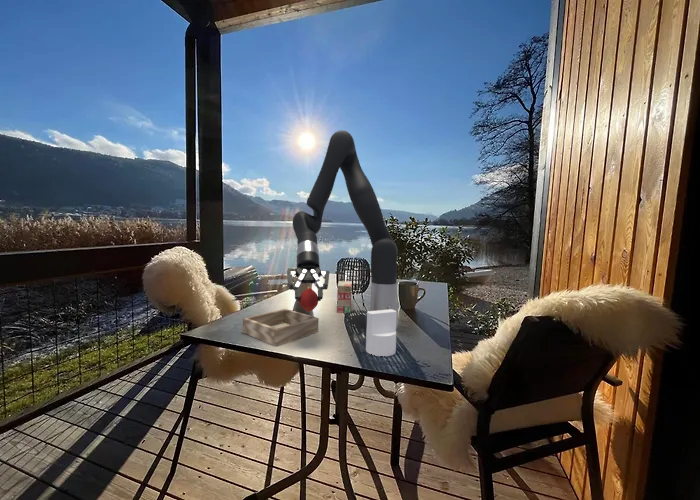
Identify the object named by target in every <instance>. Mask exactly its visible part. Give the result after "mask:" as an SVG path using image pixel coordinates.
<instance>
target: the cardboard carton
mask: <svg viewBox="0 0 700 500" xmlns="http://www.w3.org/2000/svg"><path fill="white" fill-rule="evenodd" d="M352 288H353V287H352V281H351V280H339V281H338V283H337V294H336V299H337V300H336V313H338V314H339V313H341V314H351V313H352Z"/></svg>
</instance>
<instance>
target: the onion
mask: <svg viewBox="0 0 700 500" xmlns="http://www.w3.org/2000/svg"><path fill="white" fill-rule="evenodd" d="M298 302H299V305H300V307H301V308H303V309H304V310H305V312H307V313H310V312H312V311H313V310H314V309H316V307H317V306H318V304H319V301H318V293H316V291H314V290H313V289H312V288H311V287H310V286H306V289H305V290H304V291H302V292H301V293H300V301H298Z"/></svg>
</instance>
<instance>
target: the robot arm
mask: <svg viewBox="0 0 700 500" xmlns="http://www.w3.org/2000/svg"><path fill="white" fill-rule="evenodd" d="M322 162H323V163H322V165H321V168H320V171H319V173H318V175H317V178H316V180H315V182H314V184H313V187H312V189H311V190H310V193H309V194H308V197H307V200H306V205H307V207H309V208H310V209H311V210H312V211H313V212H312V213H313V215H312V214H310V213H308V212H306V211H302V210H301V211H298V212H297V211H296V213H295V214H294V216H293V218H292V229H293V231H294V235H295V237H296V240H297V241H296V243H297V247H296V268H295V270H294V271H291V270H289V269H287V270H286V277H287V278H286V279H287V284H288V290H293V291H294V299H295V300H296V302H299V301H300V296H301V293H300V292H301V287H302V286H303V284H314V286H315V287H316V289H317V296H318V302H321V301H322V300H323V297H324V290H328V288H329V282H330V270H326V271H322V269H321V267H320V253H319V252H320V251H319V247H318V245H319V244H318V236H317V234H319V232H320V230H321V227H322V221H323V216H324V211H325V208H326V206H327V203H328V201H329V198H330V197H331V195H332V192H333V188H334V185H335V182H336V178H337V175H338V172H339V171H340V170H341V172H342V174H343V178H344V183H345V185H346V189H347V190H346V191H347V194H348V196H349V199H350V201H351V204H352V207H353V210H354V211H355V213H356V215H357V217H358V218H359V220H360V221H361V223H362V225H363V226H364V228H365V229H366V232H367V234H368V237H369V239H370V243H371V246H372V247H371V252H370V277H371V278H370V280H371V281H370V282H371V284H370V285H371V286H370V311H377V310H388V309H393V310H395V311H396V330H397V329H398V318H399V317H398V316H399V315H398V314H399V313H398V312H399V304H398V303H397V282H398V281H397V279H398V278H397V276H398V275H397V273H398V272H397V267H398V266H397V264H398V254H399V253H398V252H399V248H398V247H397V244H396V243H395V241H394V238H392V236H391V233H390V231H389V230H388V228H387V225H386V223H385V220H384V216H383V212H382V209H381V206H380V203H379V201H378V198H377V196H376V192H375V190H374V187H373V186H372V184H371V183H370V180H369V178H368V177H367V176H366V173H365V172H364V170H363V169H362V166H361V163H360V160H359V157H358V154H357V150H356V145H355V140H354V138H353V136H352V134H351V133H350V132H349V131H346V130H343V129H342V130H336V131H335V132H334V133H333V134H332V135H331V136H330V139H329V141H328V145H327V148H326V153H325V156H324V160H323V161H322ZM295 276H296V277H297V281H296V283H294V280H293V279H295V278H294V277H295ZM321 276H322V278H323V279H324V282H323V283H322V282H321V279H320V277H321Z"/></svg>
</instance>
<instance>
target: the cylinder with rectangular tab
mask: <svg viewBox="0 0 700 500" xmlns="http://www.w3.org/2000/svg"><path fill="white" fill-rule="evenodd" d="M365 332H366V334H365V337H366V338H365V351H366V353H367V354H369V355H371V354H372V356H374V355H375V356H376V357H380V356H383V357H384V356H385V357H390V356H393V355H395V354H396V351H397V329H396V311H395V310H393V309H388V310H377V311H371V310H370V311H369V310H368V311H367V312H366V331H365ZM375 356H374V357H375Z"/></svg>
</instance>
